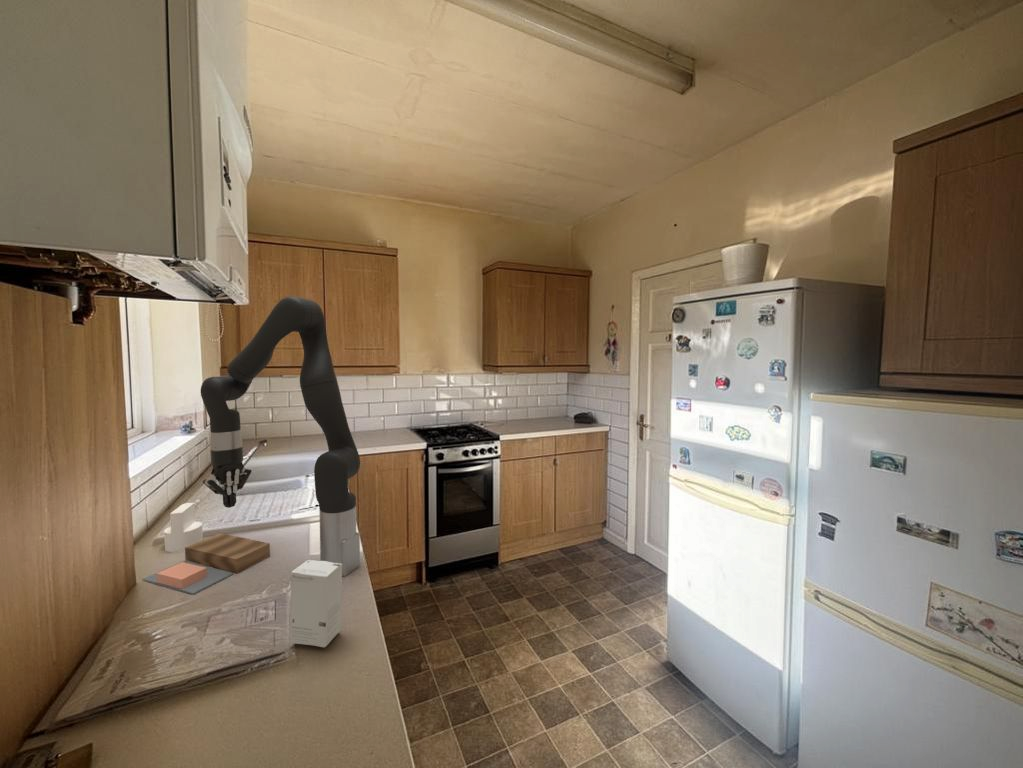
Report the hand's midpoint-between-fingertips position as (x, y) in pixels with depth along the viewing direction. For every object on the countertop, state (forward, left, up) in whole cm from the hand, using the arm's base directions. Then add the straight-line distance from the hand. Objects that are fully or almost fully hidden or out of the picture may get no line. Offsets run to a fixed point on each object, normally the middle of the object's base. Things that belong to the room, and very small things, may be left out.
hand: (230, 506), depth 116 cm
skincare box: (-49, +18, -15) cm, 54 cm away
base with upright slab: (+20, 0, -15) cm, 25 cm away
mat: (0, +11, -15) cm, 19 cm away
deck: (0, +1, -15) cm, 15 cm away
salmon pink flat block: (0, +13, -12) cm, 18 cm away
